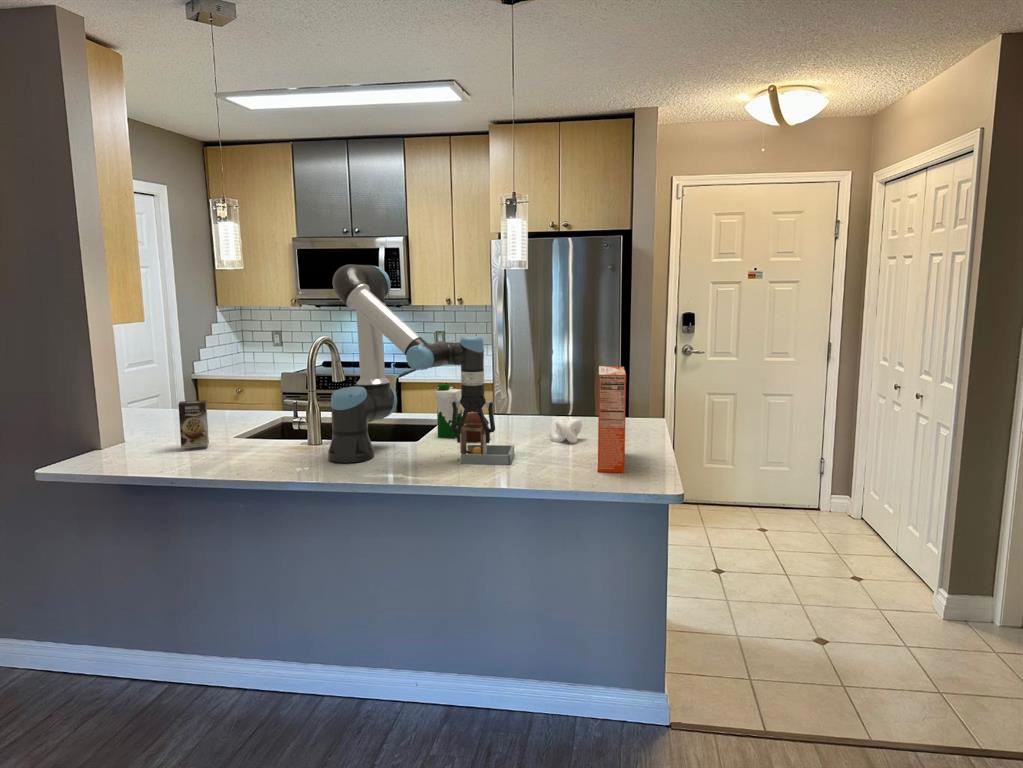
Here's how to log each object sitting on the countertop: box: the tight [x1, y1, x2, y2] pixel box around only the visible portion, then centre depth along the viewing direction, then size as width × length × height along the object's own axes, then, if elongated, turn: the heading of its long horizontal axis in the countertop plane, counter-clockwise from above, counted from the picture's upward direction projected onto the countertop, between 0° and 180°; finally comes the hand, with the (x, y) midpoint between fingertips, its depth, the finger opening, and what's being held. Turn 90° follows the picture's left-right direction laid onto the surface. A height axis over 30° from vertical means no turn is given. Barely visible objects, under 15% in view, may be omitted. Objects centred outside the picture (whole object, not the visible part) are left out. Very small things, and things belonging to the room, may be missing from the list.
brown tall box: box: [178, 400, 210, 449], centre depth 244 cm, size 9×6×16 cm
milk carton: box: [435, 383, 463, 440], centre depth 256 cm, size 9×9×20 cm
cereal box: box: [597, 365, 627, 473], centre depth 215 cm, size 23×8×30 cm, turn 173°
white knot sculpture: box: [549, 416, 583, 444], centre depth 247 cm, size 11×12×9 cm
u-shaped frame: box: [460, 444, 515, 466], centre depth 223 cm, size 16×14×3 cm
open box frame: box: [460, 424, 485, 455], centre depth 223 cm, size 7×7×10 cm
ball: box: [472, 447, 481, 454], centre depth 223 cm, size 4×4×4 cm
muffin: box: [459, 412, 490, 443], centre depth 251 cm, size 12×11×10 cm
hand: (473, 452), depth 223 cm, fingers closed on open box frame, 7 cm apart
